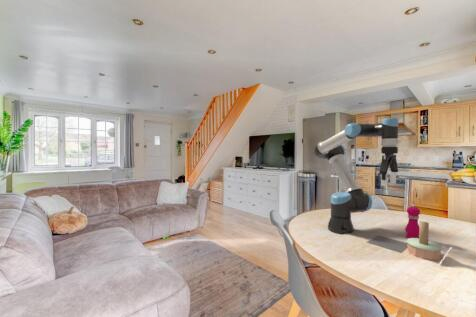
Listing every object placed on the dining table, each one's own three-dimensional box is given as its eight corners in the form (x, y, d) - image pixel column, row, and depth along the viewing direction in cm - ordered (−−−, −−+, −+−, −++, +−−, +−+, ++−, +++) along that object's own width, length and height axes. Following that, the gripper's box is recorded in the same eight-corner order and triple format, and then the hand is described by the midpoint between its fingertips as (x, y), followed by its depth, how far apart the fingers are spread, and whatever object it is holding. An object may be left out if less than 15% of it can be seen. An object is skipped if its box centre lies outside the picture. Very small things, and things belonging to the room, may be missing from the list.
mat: (366, 243, 121) (366, 242, 121) (377, 236, 131) (377, 235, 131) (401, 254, 109) (401, 252, 109) (411, 245, 118) (411, 244, 118)
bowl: (404, 254, 108) (404, 244, 108) (411, 247, 116) (412, 238, 116) (436, 264, 99) (437, 253, 99) (442, 255, 106) (442, 245, 106)
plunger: (402, 244, 108) (403, 222, 108) (411, 237, 116) (411, 216, 116) (438, 253, 98) (438, 229, 98) (444, 245, 106) (445, 223, 106)
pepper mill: (414, 242, 122) (415, 206, 122) (401, 237, 129) (402, 203, 128) (424, 240, 124) (425, 205, 123) (411, 235, 131) (411, 202, 130)
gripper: (389, 146, 112) (388, 188, 112) (405, 146, 127) (404, 183, 128) (372, 146, 117) (372, 186, 118) (389, 146, 133) (389, 181, 134)
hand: (388, 184), depth 123 cm, fingers open, 13 cm apart
